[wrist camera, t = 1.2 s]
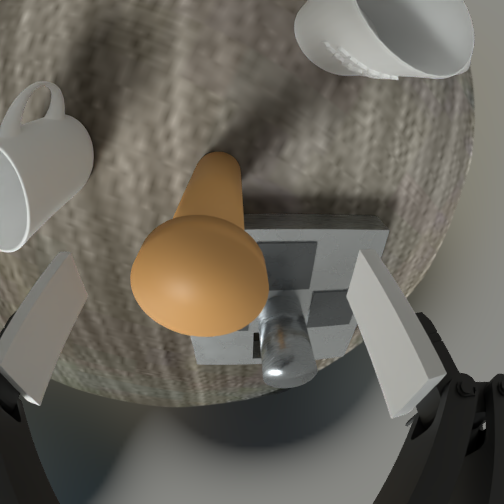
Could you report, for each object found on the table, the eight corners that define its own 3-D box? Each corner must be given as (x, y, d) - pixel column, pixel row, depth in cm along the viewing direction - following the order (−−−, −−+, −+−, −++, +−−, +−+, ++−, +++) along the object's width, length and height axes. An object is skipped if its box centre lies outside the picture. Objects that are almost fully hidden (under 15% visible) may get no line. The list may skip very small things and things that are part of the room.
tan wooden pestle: (188, 203, 25) (148, 334, 12) (184, 144, 22) (115, 232, 9) (249, 202, 25) (265, 335, 12) (250, 142, 22) (273, 229, 9)
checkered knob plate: (198, 346, 36) (193, 417, 27) (177, 215, 25) (148, 294, 16) (338, 340, 38) (358, 404, 28) (376, 215, 26) (432, 283, 17)
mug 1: (115, 83, 18) (39, 92, 9) (90, 203, 24) (34, 267, 15) (44, 75, 16) (-35, 89, 7) (30, 184, 22) (-32, 235, 13)
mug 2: (407, 103, 20) (501, 133, 10) (286, 65, 18) (336, 45, 8) (419, 32, 15) (512, 30, 5) (300, -14, 14) (352, -77, 4)
